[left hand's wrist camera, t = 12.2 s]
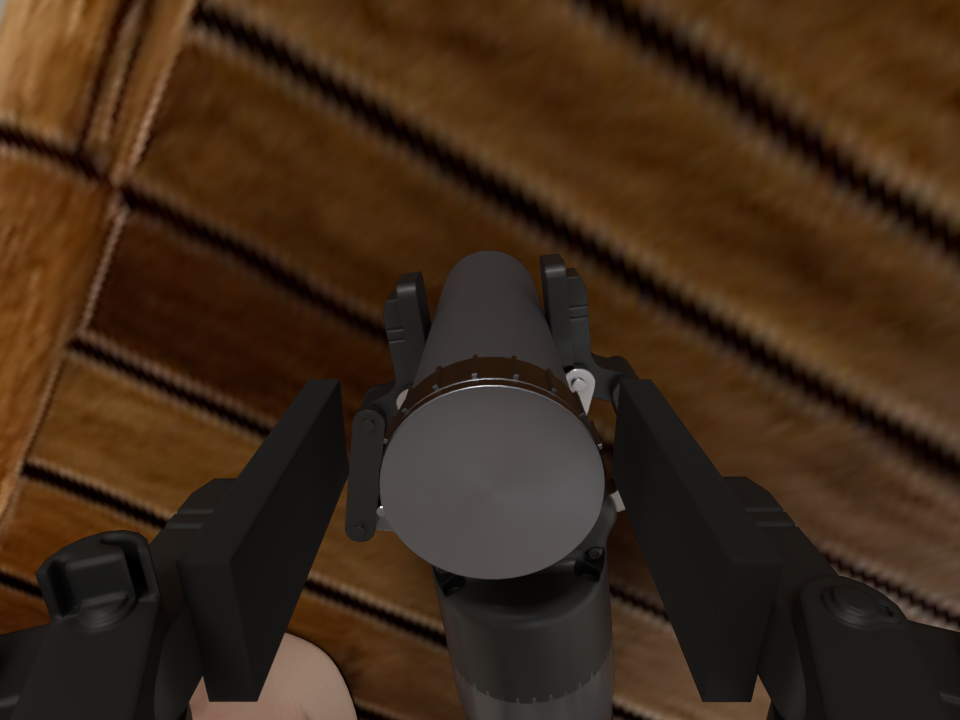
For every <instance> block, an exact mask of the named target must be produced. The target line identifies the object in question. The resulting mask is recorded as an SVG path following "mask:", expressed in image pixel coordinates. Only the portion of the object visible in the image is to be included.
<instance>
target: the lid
mask: <svg viewBox="0 0 960 720" xmlns="http://www.w3.org/2000/svg"><path fill="white" fill-rule="evenodd" d="M383 443H385V444H386V446H385V449H384V452H383V455H382V459H381V463H380V468H379V472H378V477H379V478H378V485H379V495H380V500H381V504H382V508H383V510H384V513H385V515H386V518H387V520H388V522H389V524H390V525H391V527H392V529H393V530H394V532H395V533H396V534H397V536H398V537H399V538H400V540H401V541H402V542H403V543H404V544H405V545H406V546H407V547H408V548H409V549H410V550H411V551H413V552H414V553H415V554H416V555H418V556H419V557H420V558H422V559H423V560H425V561H427V562H428V563H430V564H431V565H433V566H436V567H438V568H440V569H442V570H444V571H447V572H450V573H453V574H456V575H460V576H465V577H469V578H477V579H508V578H515V577H520V576H525V575H528V574H531V573H534V572H538V571H540V570H542V569H545V568H547V567H549V566H551V565H553V564H555V563H556V562H558V561H560V560H561V559H563V558H564V557H566V556H567V555H568V554H569V553H571V552H572V551H573V550H574V549H575V548H576V547H577V546H578V545H579V544H580V543H581V542H582V541H583V540H584V539H585V538H586V536H587V535H588V534H589V533H590V531H591V530H592V528H593V526H594V524H595V523H596V521H597V519H598V516H599V514H600V512H601V509H602V506H603V502H604V498H605V490H606V471H605V466H604V461H603V457H602V454H601V452H600V449H603V446H602V443H601V441H600V438H599V435H598V433H597V430H596V428H595V425H594V423H593V420H592V421H589V420H588V417H587V414H586V412H585V410H584V407H583V405H582V402H581V399H580V396H579V394H578V393H577V391H575V392H572V391H571V390H570V389H569V388H568V387H567V386H566V385H565V384H564V383H563V382H562V381H561V380H559V379H558V378H557V377H555V376H554V375H553V373H552V370H551V369H549V368H547V370H544V369H542V368H540V367H538V366H536V365H533V364H530V363H528V362H525V361H521V360H517V357H516V356H513V355H512V356H511V358H505V357H479V358H478V355H477V354H476V355H473V358H471V359H467V360H463V361H459V362H456V363H453V364H450V365H448V366H445V367H443V368H442V366H441V365H440V366H438V367H437V368H436V372H434V373H432V374H431V375H429V376H428V377H427V378H425V379H424V380H423V381H421V382H420V383H419V384H418V385H417V386H416V387H415V388H412V387H410V388H409V389H408V392H407V395H406V399H405V400H404V402H403V403H402V405H401V407H400V409H399V410H398V413H397V415H396V416H392V418H391V421H390V423H389V426H388V429H387V432H386V435H385V438H384V440H383Z"/></svg>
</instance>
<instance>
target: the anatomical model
mask: <svg viewBox="0 0 960 720" xmlns="http://www.w3.org/2000/svg"><path fill="white" fill-rule="evenodd" d="M189 704H190V707H191V711H192V718H193V720H357V716H356V712H355V708H354V705H353V702H352V699H351V697H350V694H349V691H348V688H347V686H346V684H345V682H344V679H343V677H342V676H341V674H340V672H339V670H338V668H337V667H336V665H335V664H334V662H333V661H332V660H331V659H330V657H329V656H328V655H327V654H326V653H324V652H323V651H322V650H321V649H320V648H318V647H316V646H315V645H313V644H312V643H310V642H308V641H306V640H304V639H301V638H299V637H296V636H294V635H291V634H288V633H285V634H284V637H283V639H282V641H281V644H280V646H279V649H278V651H277V654H276V656H275V659H274V661H273V664H272V666H271V669H270V671H269V674H268V676H267V679H266V681H265V684H264V686H263V689H262V691H261V694H260V696H259V699H258V701H257V702H209V700H208V696H207V691H206V687H205V683H204V679H203V676H202V678H201V680H200V682H199V684H198V686H197V688H196V690H195V692H194V694H193V695H192V697H191V699H190V701H189Z"/></svg>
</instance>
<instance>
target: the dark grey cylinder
mask: <svg viewBox="0 0 960 720" xmlns="http://www.w3.org/2000/svg"><path fill="white" fill-rule="evenodd" d="M476 354H477V355H478V358H479V357H505V358H511V356H512V355H513V356H516V357H517V360H521V361H525V362H528V363H530V364H533V365H536V366H538V367H540V368H542V369H544V370H547V368H549V369H551V370H552V373H553V375H554V376H555V377H557V378H558V379H559V380H561V381H562V382H563V383H564V384H565V385H566V386H567V387H568V388H569V389H570V387H569V384H568V381H567V378H566V375H565V373H564V370H563V367H562V364H561V361H560V358H559V355H558V352H557V349H556V346H555V344H554V341H553V338H552V335H551V332H550V329H549V326H548V323H547V320H546V318H545V315H544V312H543V309H542V306H541V303H540V300H539V297H538V294H537V291H536V289H535V286H534V283H533V280H532V278H531V276H530V274H529V272H528V270H527V269H526V268H525V266H524V265H523V264H522V263H521V262H519V261H518V260H517V259H515V258H514V257H512V256H510V255H508V254H506V253H503V252H499V251H480V252H476V253H473V254H470V255H468V256H466V257H465V258H463V259H462V260H460V261H459V262H458V263H457V264H456V265H455V266H454V267H453V268H452V270H451V271H450V272H449V274H448V276H447V278H446V281H445V284H444V287H443V290H442V293H441V296H440V300H439V303H438V306H437V309H436V313H435V316H434V319H433V322H432V325H431V329H430V332H429V335H428V338H427V342H426V345H425V348H424V351H423V354H422V358H421V361H420V364H419V367H418V371H417V374H416V377H415V380H414V383H413V387H412V388H415V387H416V386H417V385H418V384H419V383H420V382H421V381H423V380H424V379H425V378H427V377H428V376H429V375H431V374H432V373H434V372H436V368H437V367H438V366H440V365H441V366H442V368H443V367H445V366H448V365H450V364H453V363H456V362H459V361H463V360H467V359H471V358H473V355H476Z"/></svg>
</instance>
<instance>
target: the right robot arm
mask: <svg viewBox="0 0 960 720" xmlns="http://www.w3.org/2000/svg"><path fill="white" fill-rule="evenodd" d="M540 268H541V278H542V288H543V299H544V309H545V318H546V320H547V323H548V326H549V329H550V332H551V335H552V338H553V341H554V344H555V346H556V349H557V352H558V355H559V358H560V361H561V364H562V367H563V370H564V373H565V375H566V378H567V381H568V384H569V387H570V390H571V391H572V392H575V391H577V393H578V394H579V396H580V399H581V402H582V405H583V407H584V410H585V412H586V414H587V413H588V410H589V406H590V402H591V399H592V398H596V399H601V400H605V401H610V402H611V403H612V405H613V408H614V410H615V413H616V415H617V409H618V399H619V388H620V380H640V379H639V378H638V376H637V375H636V373H635V372H634V370H633V369H632V367H631V366H630V364H629V363H628V361H627V360H626V359H624V358H623V357H620V356H612V357H610V358H606V357H601V356H597V355H595V354H593V353H592V352H591V346H590V331H589V318H588V302H587V289H586V287H585V285H584V283H583V281H582V279H581V277H580V276H579V274H578V273H577V271H576V270H575V269H574V268H568V269H565V263H564V260H563V259H562V257H561V256H560V254H552V255H544V256H540ZM383 319H384V323H385V328H386V333H387V338H388V341H389V348H390V352H391V357H392V362H393V367H394V372H395V379H394V380H392V381H390V382H388V383H386V384H384V385H382V384H376V385H373V386H371V387H370V388H369V389H368V390H367V392H366V394H365V396H364V400H363V403H362V405H361V407H360V409H359V410H358V411H357V412H356V414H355V416H354V419H353V423H352V437H351V450H350V464H349V478H348V492H347V506H346V519H345V532H346V534H347V536H348V537H349V538H351V539H352V540H354V541H357V542H365V541H368V540H370V539H371V538H372V537H373V536H374V533H375V530H376V529H378V530H386V531H394V530H393V529H392V527H391V525H390V524H389V522H388V520H387V518H386V515H385V513H384V510H383V508H382V504H381V500H380V495H379V485H378V478H379V477H378V472H379V468H380V463H381V459H382V455H383V452H384V449H385V446H386V444H385V443H383V440H384V438H385V435H386V432H387V429H388V426H389V423H390V421H391V418H392V416H396V415H397V413H398V410H399V409H400V407H401V405H402V403H403V402H404V400H405V399H406V395H407V392H408V389H409V388H410V387H413V383H414V380H415V377H416V374H417V371H418V367H419V364H420V361H421V358H422V354H423V351H424V348H425V345H426V342H427V338H428V335H429V332H430V329H431V320H430V314H429V309H428V303H427V297H426V292H425V286H424V280H423V276H422V273H421V272H413V273H405V274H402V275H401V276H400V278H399V279H398V281H397V283H396V291H392V292H391V293H390V295H389V296H388V298H387V300H386V302H385V307H384V312H383ZM622 510H625V507H624V504H623V502H622V499H621V497H620V494H619V492H618V489H617V487H616V484H615V482H614V479H613V478H612V479H611V480H610V481H608V482H606V490H605V498H604V502H603V506H602V509H601V512H600V514H599V516H598V519H597V521H596V523H595V524H594V526H593V528H592V530H591V531H590V533H589V534H588V535H587V536H586V538H585V539H584V540H583V541H582V542H581V543H580V544H579V545H578V546H577V547H576V548H575V549H574V550H573V551H572V552H571V553H569V554H568V555H567V556H566V557H564V558H563V559H561V560H560V561H558V562H556V563H555V564H553V565H551V566H549V567H547V568H545V569H542V570H540V571H538V572H534V573H531V574H528V575H525V576H520V577H515V578H508V579H477V578H469V577H465V576H460V575H456V574H453V573H450V572H447V571H444V570H442V569H440V568H438V567H436V566H433V565H431V567H432V573H433V577H434V582H435V587H436V592H437V597H438V602H439V606H440V611H441V616H442V621H443V626H444V631H445V635H446V640H447V645H448V650H449V654H450V659H451V664H452V669H453V674H454V679H455V683H456V687H457V691H458V695H459V699H460V702H461V705H462V707H463V710H464V712H465V714H466V717H467V719H468V720H613V714H612V700H613V693H614V681H615V667H614V652H613V636H612V623H611V607H610V592H609V578H608V563H607V548H606V544H607V538H608V535H609V533H610V531H611V529H612V528H613V526H614V524H615V522H616V519H617V512H619V511H622Z"/></svg>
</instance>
